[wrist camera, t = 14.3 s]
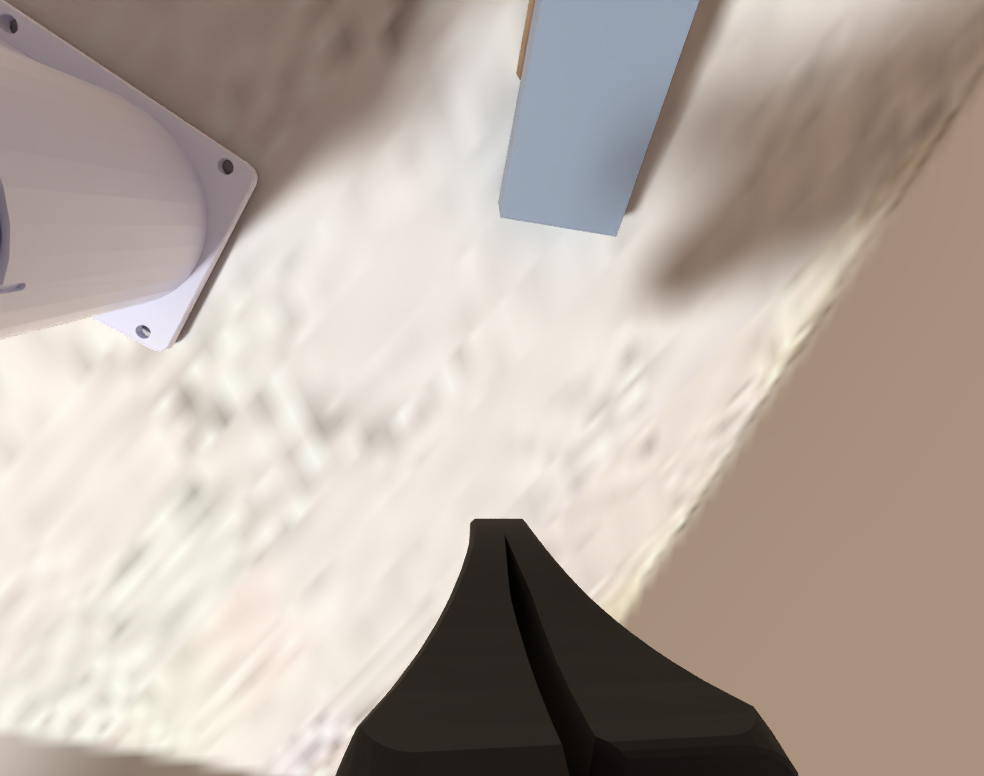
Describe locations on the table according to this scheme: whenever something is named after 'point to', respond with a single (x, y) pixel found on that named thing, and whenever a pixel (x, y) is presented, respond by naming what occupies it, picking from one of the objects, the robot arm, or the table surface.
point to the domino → (589, 108)
